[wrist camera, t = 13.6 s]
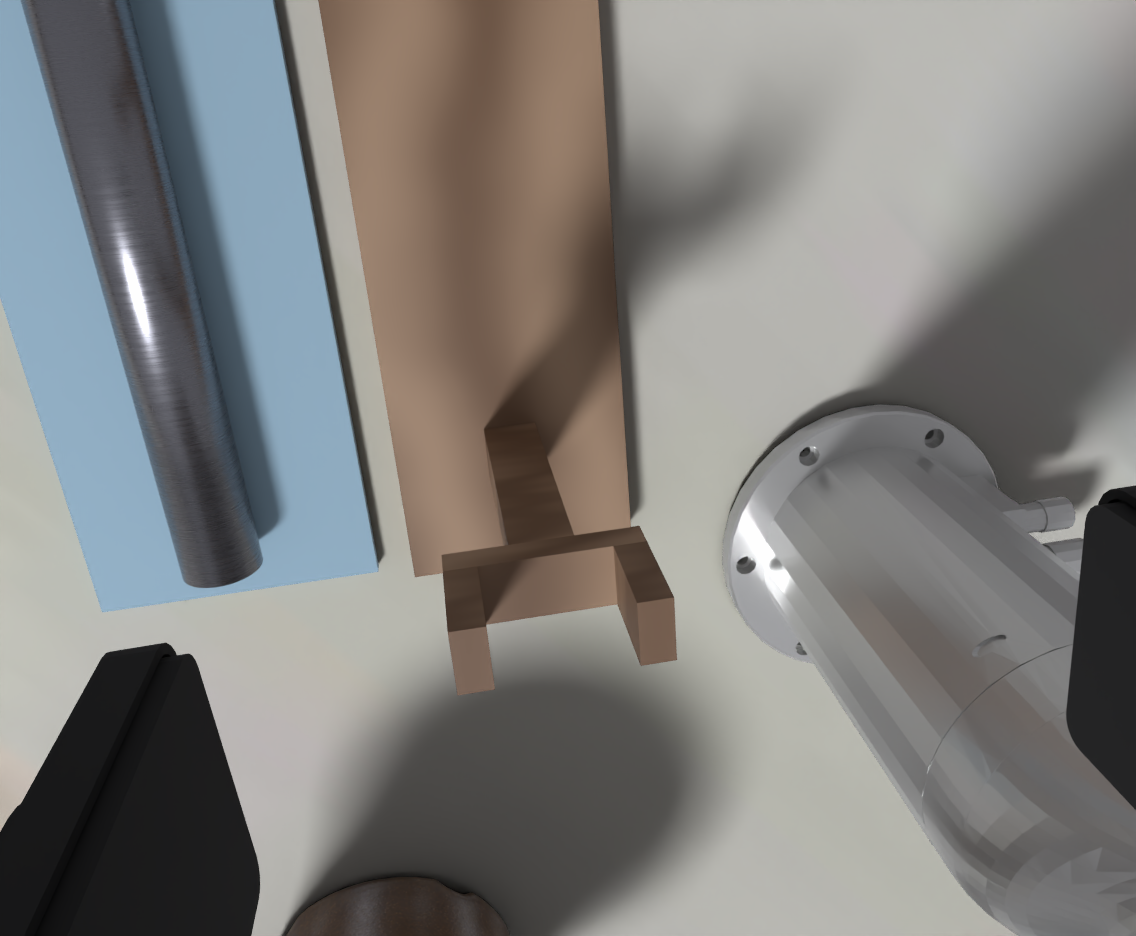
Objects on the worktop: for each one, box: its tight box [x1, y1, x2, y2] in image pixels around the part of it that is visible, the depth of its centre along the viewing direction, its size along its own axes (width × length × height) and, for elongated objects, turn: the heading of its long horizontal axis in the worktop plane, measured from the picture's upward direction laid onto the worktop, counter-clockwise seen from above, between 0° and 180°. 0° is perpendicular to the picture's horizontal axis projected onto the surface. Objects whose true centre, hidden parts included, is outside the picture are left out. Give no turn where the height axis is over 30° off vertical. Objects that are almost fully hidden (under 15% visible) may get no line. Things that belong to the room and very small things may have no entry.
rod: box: [21, 0, 263, 588], centre depth 32 cm, size 28×3×3 cm, turn 5°
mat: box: [0, 0, 379, 612], centre depth 34 cm, size 11×32×1 cm, turn 5°
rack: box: [318, 0, 677, 695], centre depth 30 cm, size 9×28×15 cm, turn 5°
